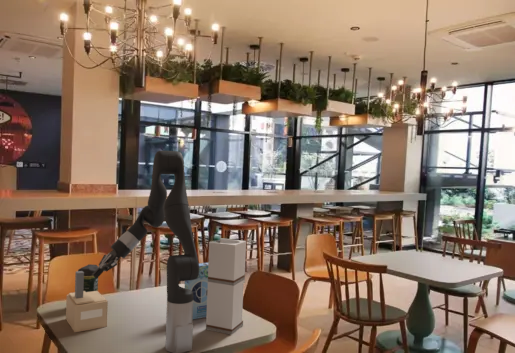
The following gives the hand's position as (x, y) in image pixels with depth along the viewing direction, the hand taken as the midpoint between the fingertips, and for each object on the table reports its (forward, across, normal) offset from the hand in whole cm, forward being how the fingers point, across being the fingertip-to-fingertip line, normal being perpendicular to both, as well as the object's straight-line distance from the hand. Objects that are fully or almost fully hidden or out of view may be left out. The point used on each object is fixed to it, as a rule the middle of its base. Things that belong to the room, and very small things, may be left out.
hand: (94, 276), depth 169 cm
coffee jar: (+12, -19, +15) cm, 27 cm away
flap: (+9, 0, +2) cm, 9 cm away
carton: (+15, 0, +11) cm, 18 cm away
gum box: (-18, +16, +44) cm, 50 cm away
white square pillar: (-18, +32, +44) cm, 57 cm away
